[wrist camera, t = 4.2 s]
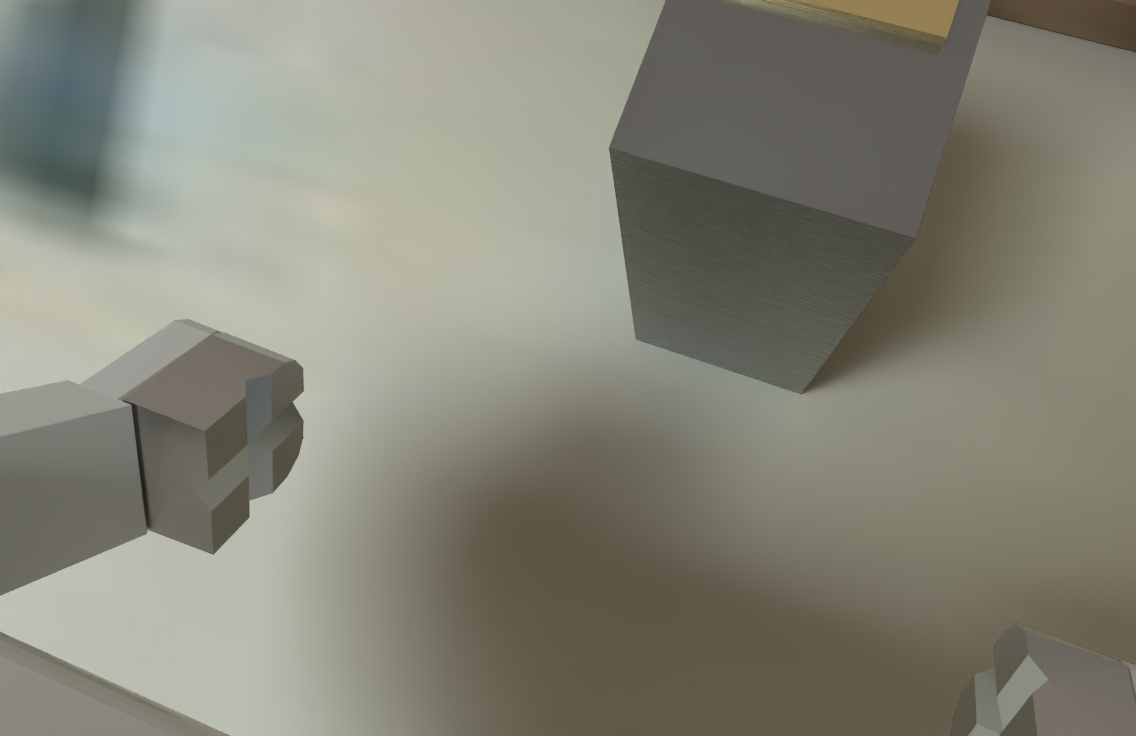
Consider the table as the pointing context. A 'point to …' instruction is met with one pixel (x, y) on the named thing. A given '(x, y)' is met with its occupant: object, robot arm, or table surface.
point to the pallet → (1075, 18)
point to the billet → (781, 169)
